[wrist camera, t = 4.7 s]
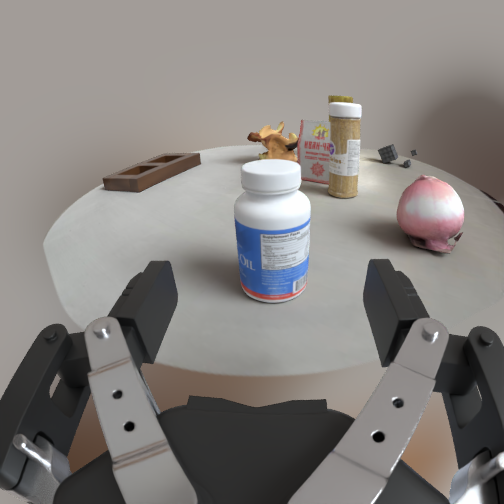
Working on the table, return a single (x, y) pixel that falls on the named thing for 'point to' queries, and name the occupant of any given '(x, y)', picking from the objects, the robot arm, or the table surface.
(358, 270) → the table surface
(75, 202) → the table surface
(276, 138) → the orange curved piece
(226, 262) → the table surface
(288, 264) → the pill bottle
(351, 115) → the sprinkles bottle
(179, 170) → the socket base
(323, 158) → the white gabled box
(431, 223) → the onion
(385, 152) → the building blocks
